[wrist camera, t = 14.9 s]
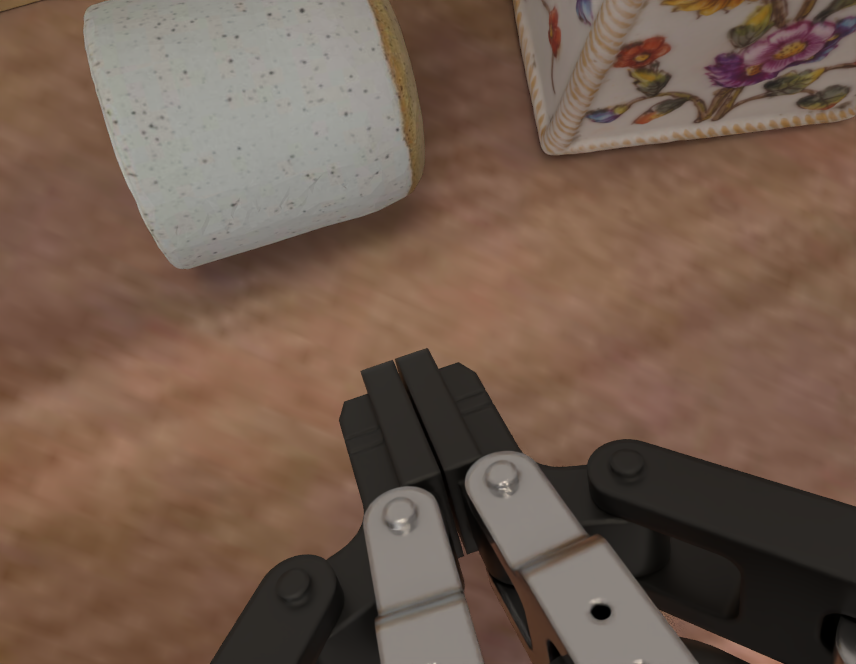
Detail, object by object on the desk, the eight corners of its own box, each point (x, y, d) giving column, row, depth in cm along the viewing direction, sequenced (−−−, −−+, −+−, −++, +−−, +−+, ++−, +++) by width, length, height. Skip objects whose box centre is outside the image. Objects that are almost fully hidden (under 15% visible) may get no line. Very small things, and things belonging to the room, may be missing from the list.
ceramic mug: (432, 227, 26) (446, 115, 18) (199, 301, 25) (112, 216, 17) (338, -31, 28) (315, -227, 20) (119, 30, 27) (11, -152, 19)
